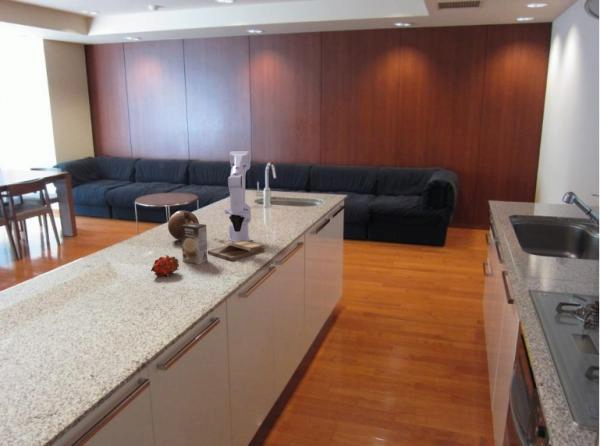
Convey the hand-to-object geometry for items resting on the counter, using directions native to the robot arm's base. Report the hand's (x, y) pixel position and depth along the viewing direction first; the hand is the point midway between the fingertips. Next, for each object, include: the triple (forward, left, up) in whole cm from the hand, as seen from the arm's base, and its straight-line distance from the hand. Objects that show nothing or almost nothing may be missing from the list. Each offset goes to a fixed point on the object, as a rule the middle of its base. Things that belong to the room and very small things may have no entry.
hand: (237, 231), depth 224 cm
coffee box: (-3, -22, -10) cm, 24 cm away
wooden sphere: (-34, -5, -10) cm, 36 cm away
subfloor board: (+1, -2, -9) cm, 10 cm away
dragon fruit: (+3, -41, -10) cm, 42 cm away
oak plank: (+1, -5, -6) cm, 7 cm away
